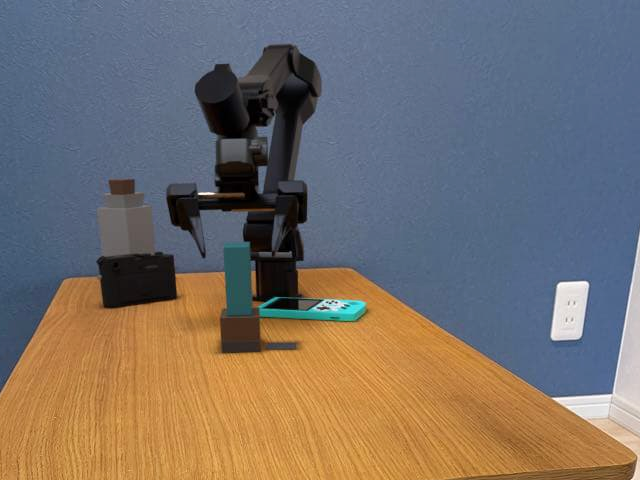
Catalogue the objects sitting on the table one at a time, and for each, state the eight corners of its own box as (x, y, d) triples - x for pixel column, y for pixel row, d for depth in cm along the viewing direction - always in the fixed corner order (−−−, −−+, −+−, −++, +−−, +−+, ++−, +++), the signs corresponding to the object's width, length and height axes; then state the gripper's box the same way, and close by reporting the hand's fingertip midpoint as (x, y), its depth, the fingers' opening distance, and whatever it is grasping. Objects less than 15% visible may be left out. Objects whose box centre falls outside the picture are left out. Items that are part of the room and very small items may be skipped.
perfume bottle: (158, 283, 158) (148, 178, 150) (133, 289, 153) (122, 181, 145) (130, 280, 162) (120, 178, 154) (105, 286, 157) (93, 180, 149)
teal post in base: (224, 341, 116) (218, 241, 110) (260, 340, 116) (256, 240, 110) (221, 352, 111) (215, 248, 105) (260, 351, 111) (256, 247, 105)
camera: (165, 292, 150) (161, 244, 146) (184, 298, 145) (180, 249, 141) (88, 303, 143) (82, 253, 139) (105, 309, 138) (99, 258, 134)
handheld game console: (354, 321, 126) (354, 312, 125) (252, 316, 130) (252, 307, 130) (370, 308, 134) (370, 299, 133) (274, 304, 139) (274, 295, 138)
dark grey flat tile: (265, 349, 112) (265, 349, 112) (267, 342, 115) (267, 342, 115) (296, 349, 112) (296, 348, 112) (296, 342, 115) (296, 342, 115)
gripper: (161, 115, 110) (158, 215, 105) (305, 112, 110) (310, 212, 105) (172, 178, 120) (170, 271, 115) (304, 175, 121) (308, 268, 116)
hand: (238, 255), depth 113 cm, fingers open, 9 cm apart
